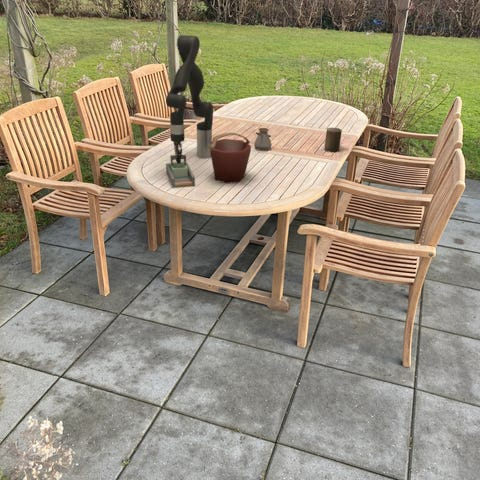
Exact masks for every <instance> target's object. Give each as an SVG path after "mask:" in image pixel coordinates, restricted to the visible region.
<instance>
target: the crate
mask: <svg viewBox="0 0 480 480" xmlns="http://www.w3.org/2000/svg"><path fill="white" fill-rule="evenodd" d="M169 157H170V162H169V163H170V169H171V172H172V174H173V176H174V178H176V177H188V168H187V166H186V162H187V155H186V154H182V157H181V160H183V161H181V163H179V164H177V162H176V160H177V157H176V155H175V154H174V155H170V156H169ZM173 161H174V162H173Z"/></svg>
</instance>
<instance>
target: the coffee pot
mask: <svg viewBox="0 0 480 480" xmlns="http://www.w3.org/2000/svg"><path fill="white" fill-rule="evenodd" d="M257 130H258V131H259V132H257V131H256V132H254V133H253V135H255V134H256V138H255V141H254V147H255V148H256V149H257V150H258V151H268V150H269V149H270V148H272V146H273V144H272V141H271V139H270V136H269V134H268V132H269V131H270V130H269V129H268V128H267V127H260V128H258V129H257Z"/></svg>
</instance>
